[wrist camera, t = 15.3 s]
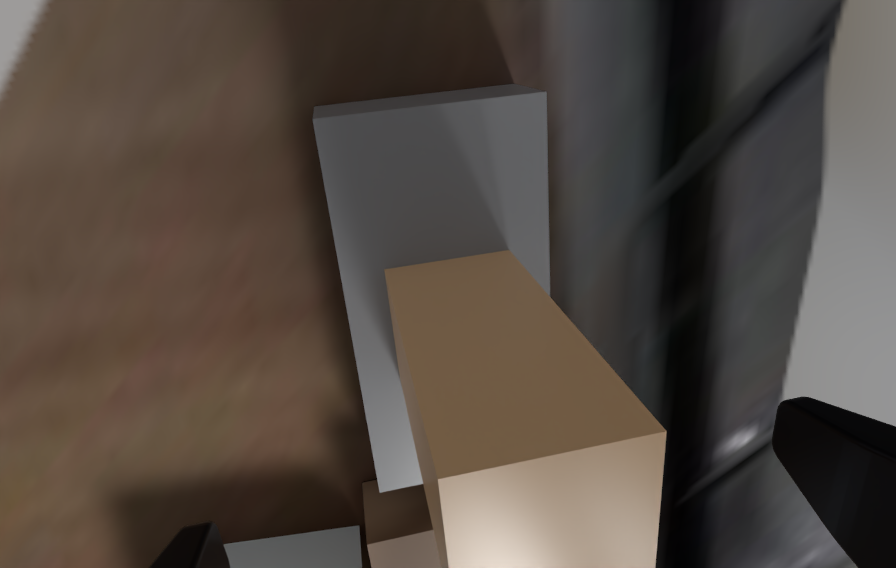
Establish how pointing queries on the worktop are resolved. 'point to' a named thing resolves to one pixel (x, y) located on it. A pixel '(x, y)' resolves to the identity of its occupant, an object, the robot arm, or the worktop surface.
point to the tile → (300, 550)
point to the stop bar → (399, 528)
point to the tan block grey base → (481, 337)
